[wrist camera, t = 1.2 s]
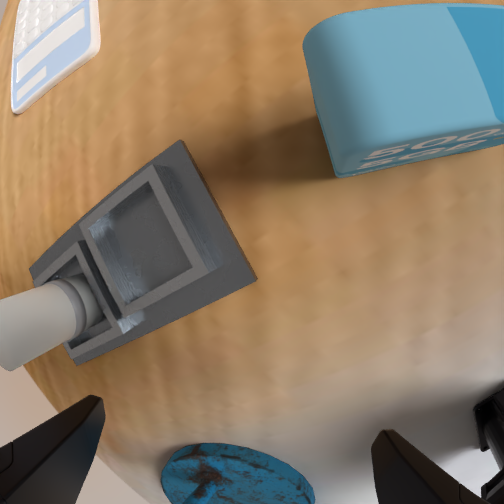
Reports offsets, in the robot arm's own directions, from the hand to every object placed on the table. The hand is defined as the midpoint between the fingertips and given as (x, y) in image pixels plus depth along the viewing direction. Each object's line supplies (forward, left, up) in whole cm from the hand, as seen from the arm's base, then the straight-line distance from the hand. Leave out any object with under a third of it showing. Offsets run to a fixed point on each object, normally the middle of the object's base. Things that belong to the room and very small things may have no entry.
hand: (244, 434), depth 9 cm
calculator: (+38, +9, -14) cm, 41 cm away
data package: (+7, -12, -14) cm, 20 cm away
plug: (+8, +17, -13) cm, 22 cm away
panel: (+8, +12, -13) cm, 20 cm away
